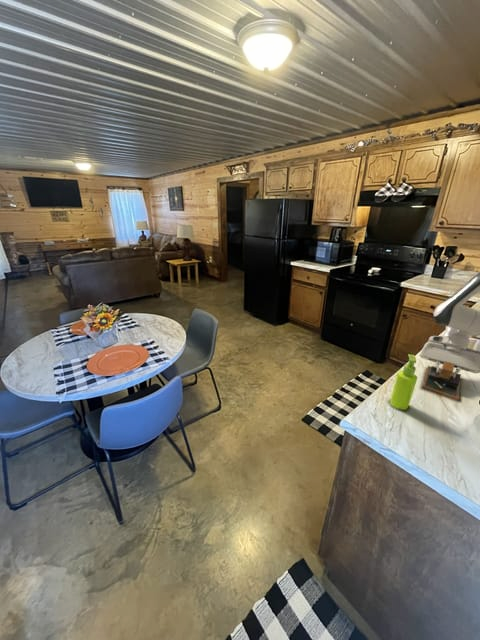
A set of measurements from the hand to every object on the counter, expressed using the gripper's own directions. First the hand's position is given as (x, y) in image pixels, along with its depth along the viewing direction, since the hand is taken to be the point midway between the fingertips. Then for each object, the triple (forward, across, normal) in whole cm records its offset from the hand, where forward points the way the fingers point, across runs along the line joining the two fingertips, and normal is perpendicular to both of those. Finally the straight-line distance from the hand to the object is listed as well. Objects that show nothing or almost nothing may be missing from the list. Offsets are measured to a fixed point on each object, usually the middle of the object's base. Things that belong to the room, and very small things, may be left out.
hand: (445, 374), depth 107 cm
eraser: (0, 0, -5) cm, 5 cm away
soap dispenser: (+21, +12, +13) cm, 27 cm away
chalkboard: (+2, 0, -6) cm, 6 cm away
